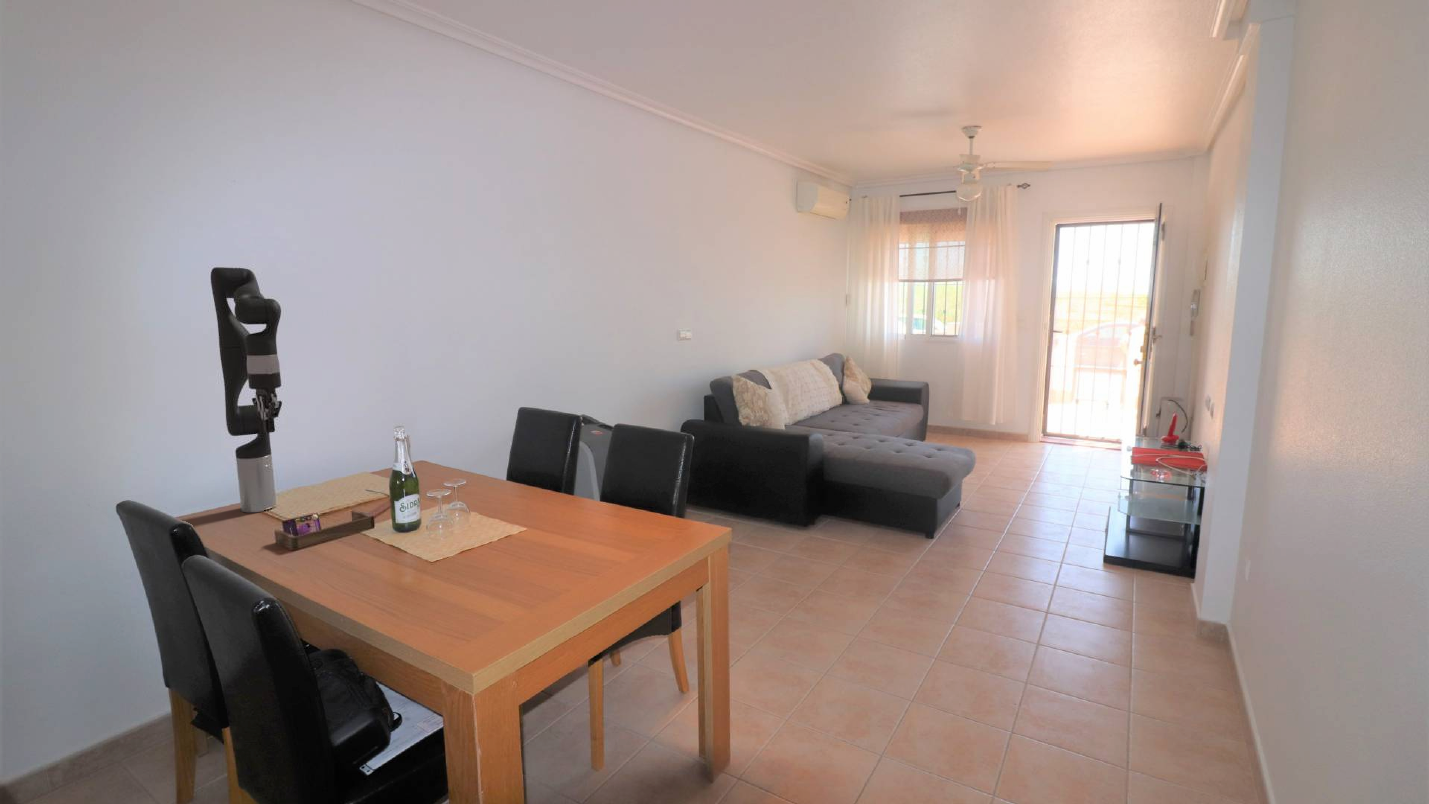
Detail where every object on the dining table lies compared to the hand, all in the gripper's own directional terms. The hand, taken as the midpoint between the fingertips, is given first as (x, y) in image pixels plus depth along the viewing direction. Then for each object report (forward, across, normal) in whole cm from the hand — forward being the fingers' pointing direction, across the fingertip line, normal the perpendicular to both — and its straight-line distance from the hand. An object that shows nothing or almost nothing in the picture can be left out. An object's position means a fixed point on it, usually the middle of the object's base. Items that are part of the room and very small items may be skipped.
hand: (269, 432), depth 188 cm
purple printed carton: (+29, +12, 0) cm, 32 cm away
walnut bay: (+29, +14, +6) cm, 33 cm away
